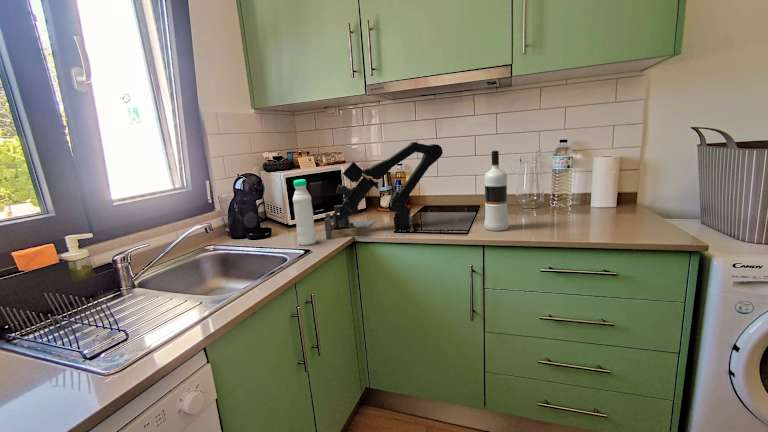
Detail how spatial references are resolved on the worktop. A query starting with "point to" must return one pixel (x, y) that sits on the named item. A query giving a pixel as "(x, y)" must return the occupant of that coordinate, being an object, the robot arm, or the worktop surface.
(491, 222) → the vodka
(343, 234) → the bracket holder
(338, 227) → the supplement bottle
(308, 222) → the milk bottle
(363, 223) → the slate mat
